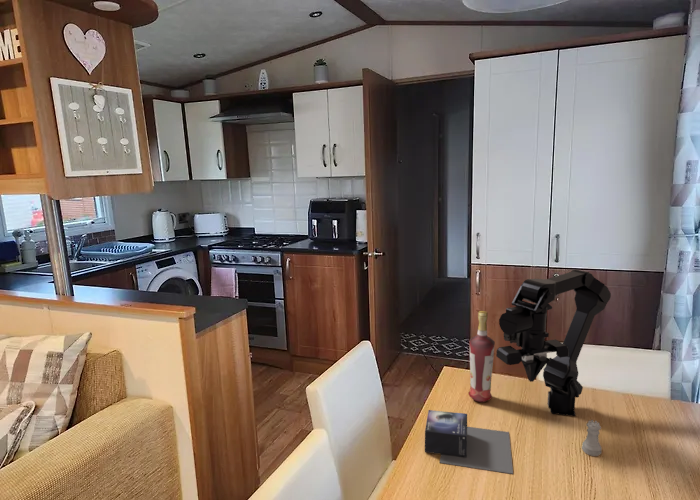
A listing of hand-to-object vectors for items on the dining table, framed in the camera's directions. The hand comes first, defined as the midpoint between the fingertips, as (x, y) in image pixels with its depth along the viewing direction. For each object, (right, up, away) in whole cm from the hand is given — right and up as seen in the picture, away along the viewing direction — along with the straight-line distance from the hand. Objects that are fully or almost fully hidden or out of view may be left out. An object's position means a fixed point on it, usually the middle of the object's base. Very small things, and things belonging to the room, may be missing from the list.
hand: (530, 380), depth 124 cm
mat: (-17, -15, -7) cm, 24 cm away
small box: (-19, -12, -7) cm, 23 cm away
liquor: (-9, -10, +17) cm, 22 cm away
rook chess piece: (+11, -15, -10) cm, 21 cm away
